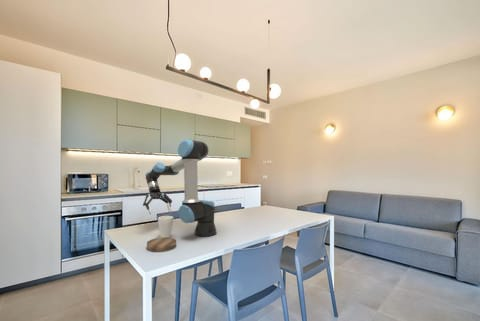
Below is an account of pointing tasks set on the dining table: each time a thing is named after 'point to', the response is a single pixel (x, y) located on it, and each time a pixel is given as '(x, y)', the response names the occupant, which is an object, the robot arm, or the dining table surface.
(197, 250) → the dining table surface
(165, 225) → the foam cup
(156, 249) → the walnut pedestal
